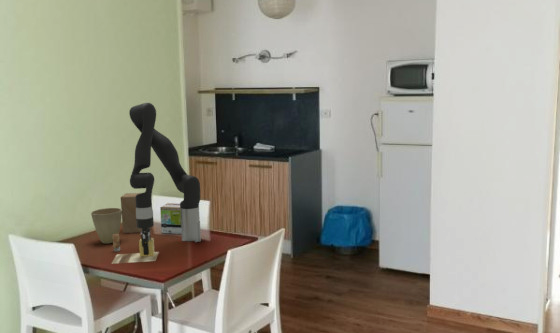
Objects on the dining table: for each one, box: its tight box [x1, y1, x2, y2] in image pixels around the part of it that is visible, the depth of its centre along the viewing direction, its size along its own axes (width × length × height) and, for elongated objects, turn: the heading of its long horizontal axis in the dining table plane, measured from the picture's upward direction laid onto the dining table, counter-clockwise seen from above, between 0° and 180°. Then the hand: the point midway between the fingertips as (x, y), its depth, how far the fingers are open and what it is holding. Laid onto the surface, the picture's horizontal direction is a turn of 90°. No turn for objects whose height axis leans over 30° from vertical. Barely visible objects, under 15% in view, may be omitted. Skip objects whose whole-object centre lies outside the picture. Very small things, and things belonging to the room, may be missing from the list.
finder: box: [138, 237, 156, 257], centre depth 254 cm, size 6×5×7 cm
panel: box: [111, 251, 160, 265], centre depth 251 cm, size 19×14×1 cm
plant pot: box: [90, 207, 122, 244], centre depth 282 cm, size 15×15×16 cm
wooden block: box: [120, 192, 142, 234], centre depth 302 cm, size 10×10×20 cm
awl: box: [112, 234, 121, 253], centre depth 262 cm, size 3×3×9 cm
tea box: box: [159, 202, 182, 235], centre depth 297 cm, size 15×10×15 cm
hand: (147, 252), depth 254 cm, fingers closed on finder, 5 cm apart
